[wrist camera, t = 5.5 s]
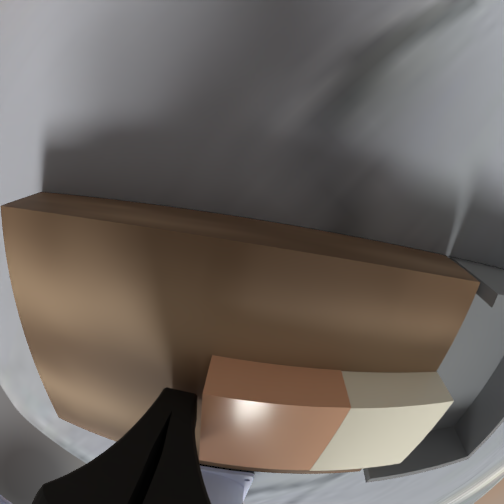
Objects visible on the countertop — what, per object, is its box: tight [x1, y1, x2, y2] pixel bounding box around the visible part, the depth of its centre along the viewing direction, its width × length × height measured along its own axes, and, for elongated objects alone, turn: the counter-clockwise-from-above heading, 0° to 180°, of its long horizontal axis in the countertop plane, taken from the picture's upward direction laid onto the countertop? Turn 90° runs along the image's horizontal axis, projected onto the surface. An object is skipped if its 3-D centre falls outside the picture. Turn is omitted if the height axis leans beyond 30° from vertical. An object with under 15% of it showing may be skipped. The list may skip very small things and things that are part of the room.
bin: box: [363, 257, 504, 482], centre depth 12 cm, size 14×10×4 cm
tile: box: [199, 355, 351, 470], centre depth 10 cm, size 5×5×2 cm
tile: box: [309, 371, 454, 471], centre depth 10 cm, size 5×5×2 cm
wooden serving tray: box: [1, 192, 480, 474], centre depth 13 cm, size 14×20×3 cm
